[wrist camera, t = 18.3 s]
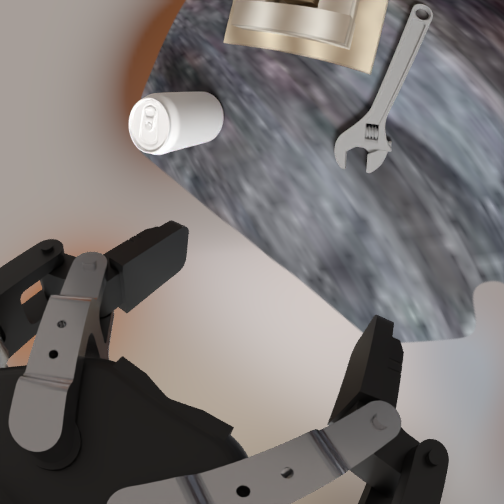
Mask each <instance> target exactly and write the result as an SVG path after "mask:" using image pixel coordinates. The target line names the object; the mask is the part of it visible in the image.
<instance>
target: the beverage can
mask: <svg viewBox="0 0 504 504" xmlns="http://www.w3.org/2000/svg"><path fill="white" fill-rule="evenodd" d="M223 119H224V115H223V109H222V106H221V104H220V102H219V101H218V100H217V98H216V97H214V96H213V95H212V94H210V93H207V92H167V93H153V94H150V95H148V96H146V97H144V98H143V99H141V100H140V101H138V102H137V103H136V104H135V106H134V107H133V109H132V111H131V113H130V117H129V132H130V136H131V139H132V141H133V143H134V144H135V146H136V147H137V148H138V149H139V150H141V151H143V152H145V153H150V154H154V155H161V154H165V153H169V152H172V151H176V150H179V149H183V148H186V147H190V146H194V145H198V144H202V143H206V142H209V141H211V140H213V139H214V138H215V137H216V136H217V135H218V134H219V132H220V130H221V128H222V125H223Z"/></svg>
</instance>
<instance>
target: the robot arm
mask: <svg viewBox="0 0 504 504" xmlns="http://www.w3.org/2000/svg"><path fill="white" fill-rule="evenodd" d="M188 234H189V231H188V228H187V227H185V226H183V225H181V224H179V223H177V222H174V221H169V222H167V223H165V224H164V225H162V226H160V227H154V228H150V229H146V230H144V231H142V232H140V233H139V234H137V235H136V236H134V237H132V238H130V239H129V240H127V241H125V242H123V243H122V244H120V245H118V246H117V247H115V248H113V249H112V250H110V251H108V252H107V253H105V254H103V255H102V254H101V253H97V252H87V253H83V254H81V255H79V256H77V257H74V256H71V255H68V254H65V253H64V249H63V244H62V243H61V242H60V241H58V240H54V239H50V240H45V241H42V242H40V243H38V244H36V245H35V246H33V247H32V248H30V249H29V250H27V251H25V252H24V253H22V254H21V255H19V256H17V257H16V258H14V259H13V260H11V261H10V262H8V263H7V264H5V265H4V266H2V267H1V268H0V504H291V503H293V502H295V501H296V500H298V499H301V498H302V497H304V496H306V495H308V494H310V493H312V492H314V491H316V490H317V489H319V488H321V487H323V486H324V485H326V484H328V483H329V482H331V481H333V480H335V479H336V478H338V477H339V476H341V475H343V474H344V473H346V472H347V471H348V470H350V471H351V472H353V473H354V474H355V475H357V476H358V477H359V478H361V479H362V480H363V481H365V482H366V486H365V489H364V491H363V493H362V496H361V498H360V500H359V503H358V504H440V501H441V497H442V492H443V488H444V484H445V479H446V474H447V469H448V462H449V458H448V453H447V450H446V448H445V447H444V446H443V444H442V443H440V442H439V441H437V440H434V439H427V440H424V441H423V442H421V443H419V442H418V441H417V440H415V439H414V438H413V437H411V436H410V435H409V434H407V433H406V432H405V431H404V430H403V429H402V428H401V418H400V415H399V413H398V412H397V410H396V404H397V398H398V392H399V385H400V378H401V375H400V374H401V371H402V362H403V353H404V352H403V349H402V346H401V342H400V340H398V339H396V338H393V337H392V335H393V327H394V323H393V322H392V321H389V320H387V319H385V318H383V317H381V316H378V315H375V316H374V317H373V319H372V320H371V322H370V323H369V325H368V327H367V328H366V330H365V331H364V333H363V334H362V336H361V337H360V339H359V340H358V342H357V344H356V346H355V347H354V350H353V352H352V354H351V357H350V360H349V364H348V367H347V370H346V373H345V377H344V379H343V382H342V385H341V388H340V392H339V394H338V398H337V400H336V403H335V406H334V408H333V411H332V414H331V417H330V419H329V422H328V425H329V426H328V427H326V428H324V429H322V430H316V429H315V430H312V431H310V432H307V433H305V434H303V435H301V436H299V437H297V438H294V439H292V440H290V441H288V442H285V443H283V444H281V445H278V446H276V447H274V448H272V449H269V450H266V451H264V452H261V453H259V454H256V455H254V456H251V457H248V456H247V454H246V452H245V451H244V449H243V448H242V446H241V445H240V444H239V443H238V442H237V441H236V440H235V439H234V438H233V437H232V436H231V432H232V430H233V428H234V427H232V426H230V425H228V424H226V423H225V422H223V421H221V420H219V419H217V418H216V417H214V416H212V415H210V414H209V413H207V412H205V411H203V410H200V409H197V408H194V407H191V406H188V405H185V404H183V403H180V402H177V401H174V400H171V399H169V398H168V397H166V396H165V394H164V393H163V392H162V391H161V390H160V389H159V388H158V387H157V386H156V385H155V383H154V382H153V381H152V380H151V379H150V377H149V376H148V375H147V374H146V373H145V372H143V371H142V370H140V369H139V368H138V367H136V366H135V365H134V364H132V363H131V362H130V361H128V360H127V359H125V358H124V357H121V358H120V359H119V360H118V361H117V362H114V361H111V360H109V356H108V355H109V354H108V353H109V344H110V337H111V331H112V325H113V319H114V310H115V309H116V308H117V307H119V308H120V309H122V310H123V311H125V312H126V313H128V312H129V311H130V310H132V309H133V308H134V307H135V306H137V305H138V304H139V303H140V302H141V301H143V300H144V299H145V298H146V297H148V296H149V295H150V294H151V293H153V292H154V291H155V290H156V289H158V288H159V287H160V286H161V285H162V284H164V283H165V282H166V281H168V280H169V279H170V278H171V277H173V276H174V275H175V274H176V273H178V272H179V271H180V270H181V268H182V267H183V266H184V263H185V261H186V254H187V244H188ZM39 280H40V282H41V285H42V290H41V291H39V292H38V293H37V294H36V295H34V296H33V297H31V298H30V299H29V300H28V301H26V302H25V303H24V304H21V301H20V298H21V294H22V293H23V292H24V291H25V290H26V289H28V288H29V287H30V286H32V285H33V284H34V283H36V282H37V281H39ZM34 335H36V338H35V340H34V344H33V347H32V350H31V353H30V357H29V361H28V364H27V365H26V366H17V367H8V365H7V364H6V363H7V361H8V359H9V358H10V357H11V356H12V355H13V354H14V353H15V352H16V351H18V350H19V349H20V348H21V347H22V346H23V345H24V344H25V343H27V342H28V341H29V340H30V339H31V338H32V337H34Z"/></svg>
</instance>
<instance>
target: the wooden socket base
mask: <svg viewBox="0 0 504 504" xmlns="http://www.w3.org/2000/svg"><path fill="white" fill-rule="evenodd" d="M387 5H388V0H319V4H318V8H313V7H306V6H299V5H291V4H287V3H286V2H285V1H283V0H233V4H232V8H231V12H230V16H229V20H228V25H227V29H226V33H225V38H224V43H228V44H235V45H243V46H250V47H257V48H264V49H270V50H276V51H281V52H287V53H292V54H296V55H301V56H306V57H310V58H314V59H318V60H322V61H326V62H330V63H334V64H337V65H341V66H344V67H348V68H351V69H354V70H358V71H361V72H364V73H367V74H370V75H371V71H372V68H373V64H374V60H375V56H376V52H377V48H378V44H379V40H380V36H381V32H382V27H383V23H384V19H385V14H386V10H387Z"/></svg>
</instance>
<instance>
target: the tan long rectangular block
mask: <svg viewBox="0 0 504 504" xmlns="http://www.w3.org/2000/svg"><path fill="white" fill-rule="evenodd" d="M283 1H285V2H286V3H287V4H291V5H299V6H306V7H313V8H318V4H319V0H283Z"/></svg>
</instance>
